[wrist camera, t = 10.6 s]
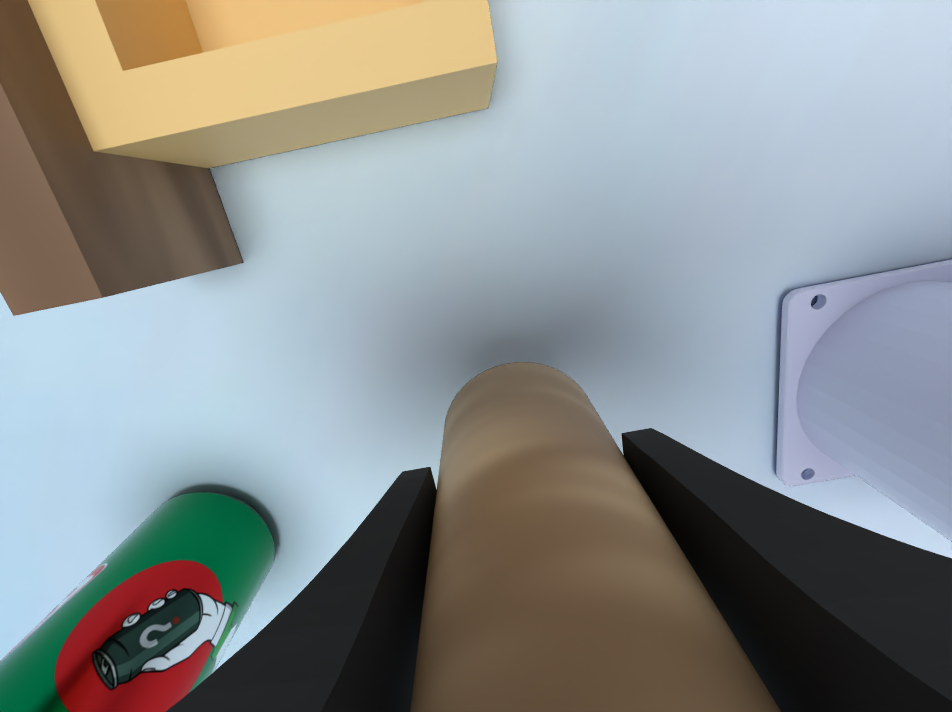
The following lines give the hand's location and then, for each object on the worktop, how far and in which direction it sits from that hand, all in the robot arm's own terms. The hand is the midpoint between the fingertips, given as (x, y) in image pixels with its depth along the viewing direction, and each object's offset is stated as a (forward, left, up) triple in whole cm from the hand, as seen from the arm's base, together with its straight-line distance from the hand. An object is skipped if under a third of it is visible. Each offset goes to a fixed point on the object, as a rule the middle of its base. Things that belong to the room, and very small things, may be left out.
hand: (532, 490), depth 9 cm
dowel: (0, 0, -2) cm, 2 cm away
